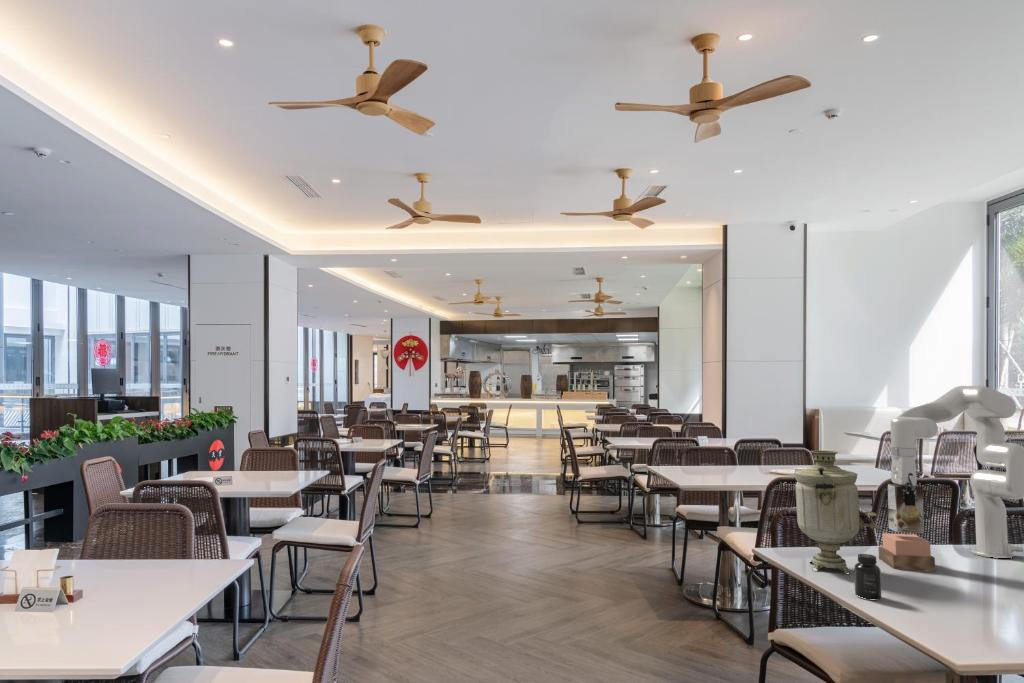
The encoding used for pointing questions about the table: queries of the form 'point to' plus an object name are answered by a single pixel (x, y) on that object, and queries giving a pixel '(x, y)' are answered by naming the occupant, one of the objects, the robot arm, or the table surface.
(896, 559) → the tower base block
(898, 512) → the coffee box
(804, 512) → the samovar
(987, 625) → the table surface
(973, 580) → the table surface
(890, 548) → the tower top block
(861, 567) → the supplement bottle
